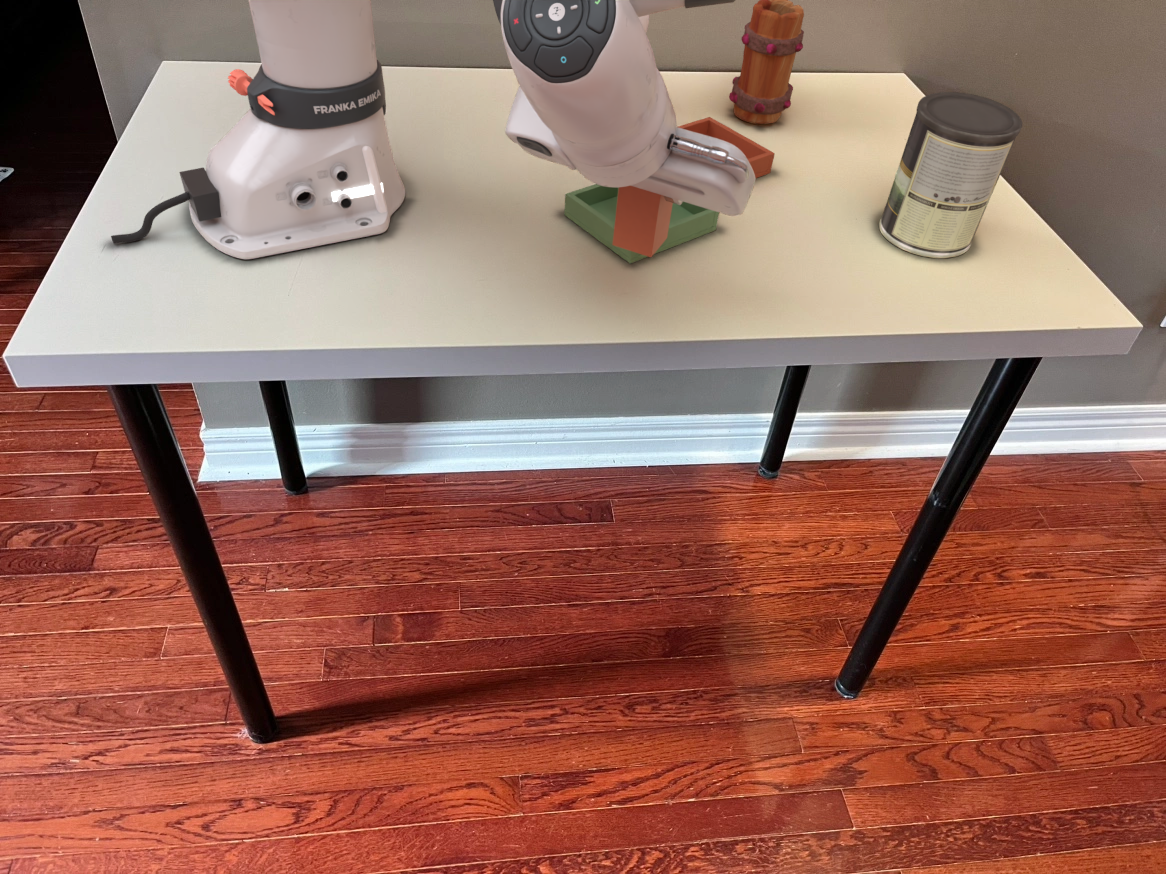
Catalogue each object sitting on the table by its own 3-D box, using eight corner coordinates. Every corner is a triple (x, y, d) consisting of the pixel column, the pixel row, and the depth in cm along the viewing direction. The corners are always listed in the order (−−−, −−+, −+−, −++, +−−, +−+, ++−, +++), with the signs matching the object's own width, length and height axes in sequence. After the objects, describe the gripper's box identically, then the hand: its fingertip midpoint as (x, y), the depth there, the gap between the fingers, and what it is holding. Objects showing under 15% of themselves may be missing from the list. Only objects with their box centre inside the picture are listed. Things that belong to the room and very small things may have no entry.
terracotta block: (651, 257, 82) (666, 157, 75) (612, 245, 83) (623, 144, 76) (667, 238, 84) (683, 139, 77) (629, 226, 85) (641, 127, 78)
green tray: (630, 263, 91) (632, 242, 89) (564, 214, 97) (565, 193, 95) (716, 230, 97) (720, 209, 95) (648, 186, 103) (651, 165, 101)
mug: (785, 137, 115) (813, 16, 104) (723, 127, 115) (744, 6, 105) (789, 92, 125) (815, -22, 114) (731, 84, 126) (752, -30, 115)
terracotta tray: (696, 200, 101) (699, 179, 100) (632, 159, 107) (635, 139, 106) (770, 173, 107) (775, 153, 105) (706, 136, 113) (709, 116, 112)
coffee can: (859, 218, 101) (897, 97, 91) (929, 204, 104) (974, 86, 94) (917, 266, 94) (966, 141, 84) (990, 249, 97) (1045, 127, 88)
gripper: (761, 119, 64) (771, 185, 77) (514, 52, 69) (563, 125, 83) (730, 201, 64) (744, 253, 77) (486, 128, 69) (539, 188, 83)
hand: (649, 186), depth 80 cm, fingers closed on terracotta block, 4 cm apart
